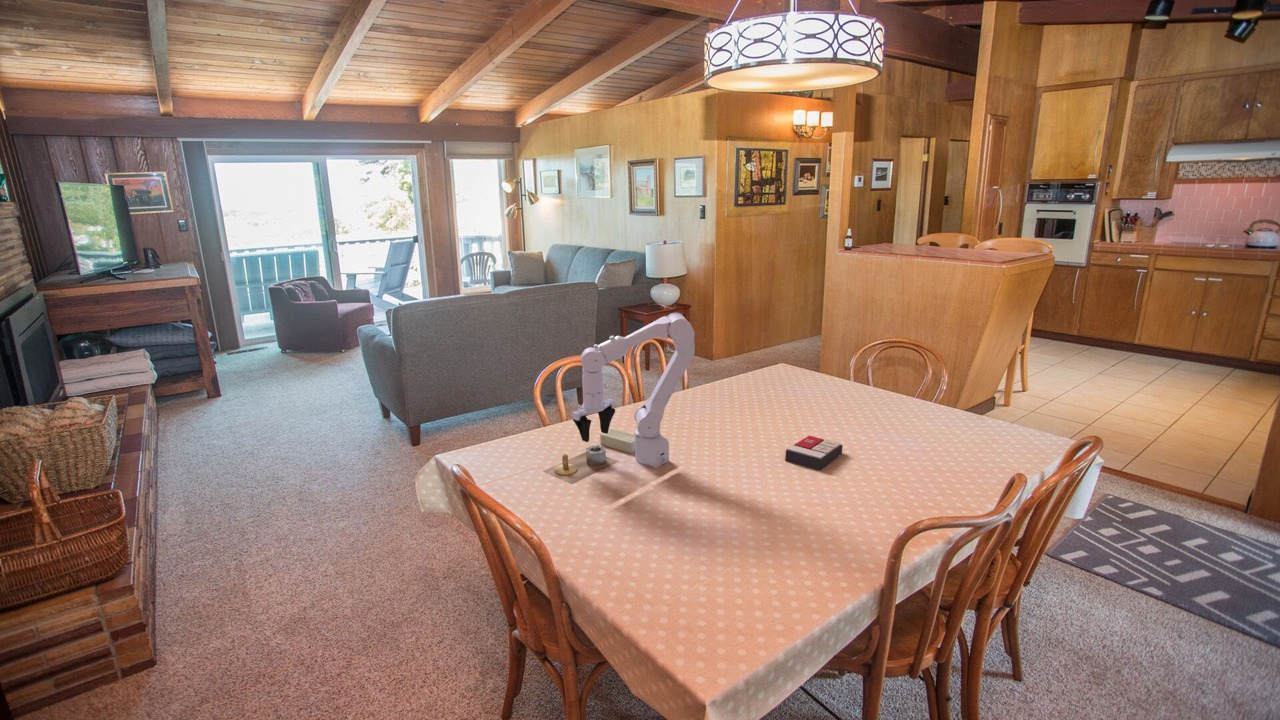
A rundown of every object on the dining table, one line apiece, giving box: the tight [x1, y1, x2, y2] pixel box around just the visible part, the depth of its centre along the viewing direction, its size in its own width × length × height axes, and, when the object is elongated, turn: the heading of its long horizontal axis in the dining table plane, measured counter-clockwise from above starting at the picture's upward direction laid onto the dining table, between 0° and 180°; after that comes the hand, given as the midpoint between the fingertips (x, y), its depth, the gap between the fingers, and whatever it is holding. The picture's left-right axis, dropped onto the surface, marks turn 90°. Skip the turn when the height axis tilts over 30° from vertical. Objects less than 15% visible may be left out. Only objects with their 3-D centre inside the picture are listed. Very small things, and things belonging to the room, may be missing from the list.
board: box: [542, 447, 619, 485], centre depth 175 cm, size 12×18×6 cm, turn 139°
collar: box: [585, 444, 607, 467], centre depth 177 cm, size 6×6×4 cm
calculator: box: [784, 435, 843, 472], centre depth 180 cm, size 11×4×15 cm
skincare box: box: [599, 428, 635, 454], centre depth 189 cm, size 6×4×12 cm
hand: (595, 436), depth 176 cm, fingers open, 7 cm apart
